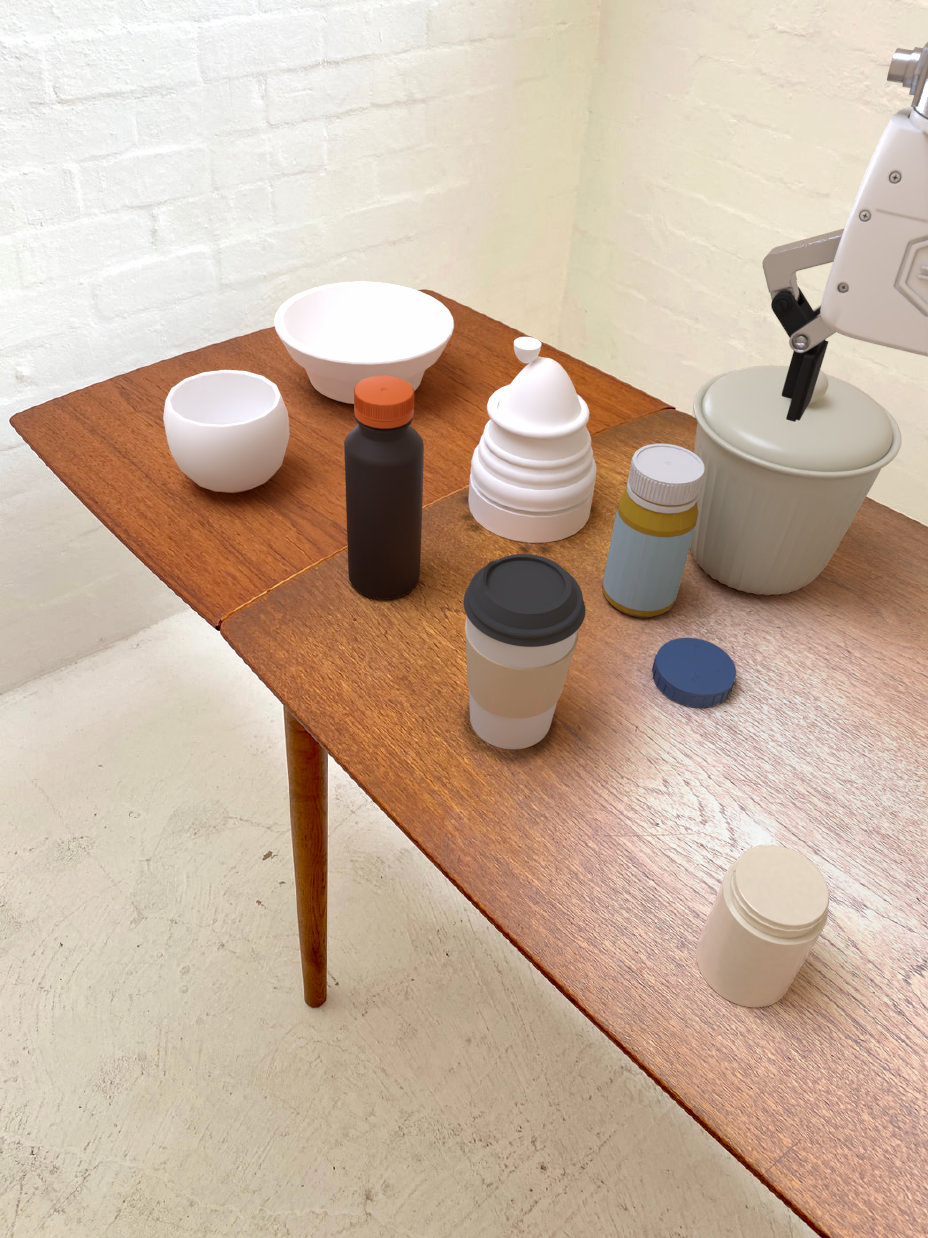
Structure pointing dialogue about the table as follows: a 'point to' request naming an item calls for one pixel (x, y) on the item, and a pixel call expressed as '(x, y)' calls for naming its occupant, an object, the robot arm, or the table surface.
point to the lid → (694, 672)
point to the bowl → (363, 334)
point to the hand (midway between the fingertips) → (884, 434)
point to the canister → (782, 476)
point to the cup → (227, 429)
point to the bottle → (653, 530)
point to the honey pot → (534, 455)
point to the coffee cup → (519, 646)
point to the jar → (762, 925)
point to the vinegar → (384, 489)
